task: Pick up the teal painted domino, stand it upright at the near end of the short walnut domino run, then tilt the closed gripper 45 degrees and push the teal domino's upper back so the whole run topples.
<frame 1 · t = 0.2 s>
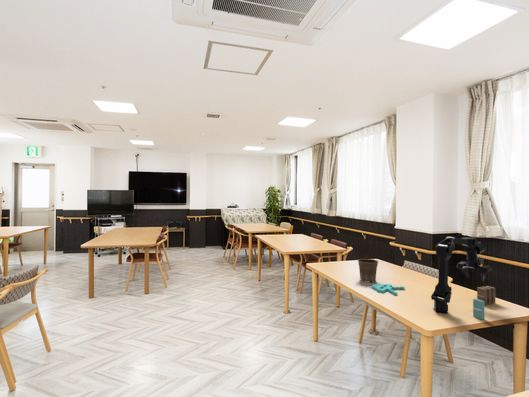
hand: (475, 279, 203), 15 cm above the table, tool pointing down, fingers open, 9 cm apart
walnut domino 1: (482, 303, 202), on the table
plant pot: (367, 280, 260), on the table
walnut domino 3: (490, 302, 205), on the table
teal domino: (478, 317, 178), on the table
alien figure: (386, 290, 233), on the table
walnut domino 2: (486, 303, 203), on the table
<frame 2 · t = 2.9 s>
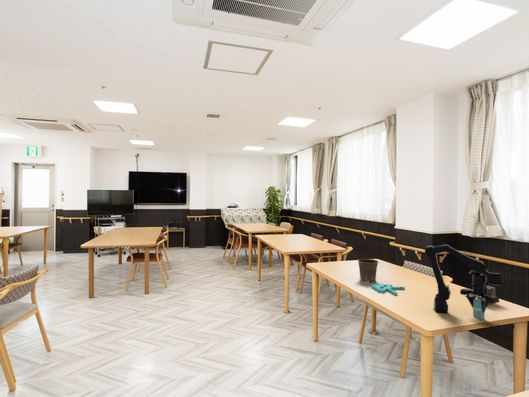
hand: (478, 310, 178), 4 cm above the table, tool pointing down, fingers closed on teal domino, 5 cm apart
teal domino: (478, 317, 178), on the table, touching gripper
everything else where it was.
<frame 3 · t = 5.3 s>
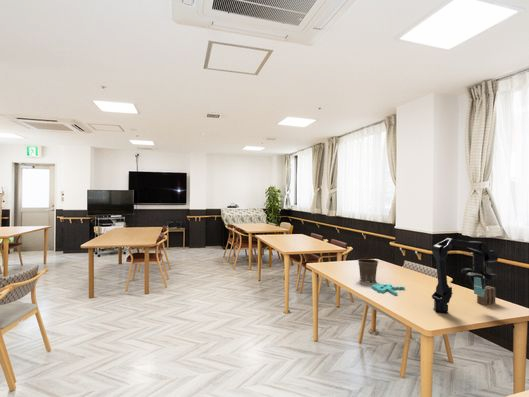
hand: (479, 288, 190), 13 cm above the table, tool pointing down, fingers closed on teal domino, 5 cm apart
teal domino: (479, 294, 190), point 9 cm above the table, touching gripper
everything else where it was.
when the fingers open (5 cm above the table, at t = 8.0 s): teal domino drops 1 cm, on the table.
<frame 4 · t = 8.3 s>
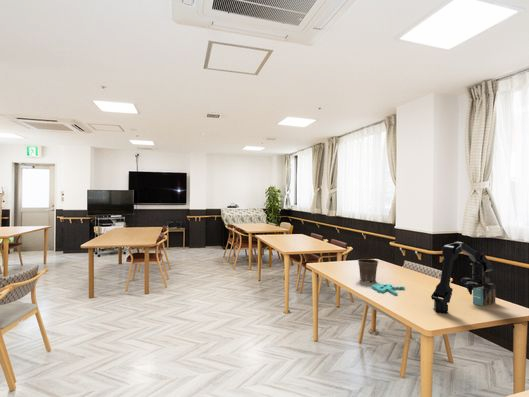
hand: (477, 296, 200), 5 cm above the table, tool pointing down, fingers open, 9 cm apart
teal domino: (477, 304, 200), on the table
everything else where it was.
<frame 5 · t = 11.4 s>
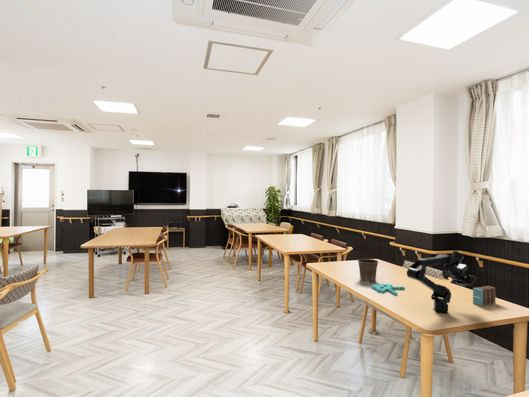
hand: (465, 286, 196), 13 cm above the table, tool tilted 45°, fingers closed
nothing on the table moved.
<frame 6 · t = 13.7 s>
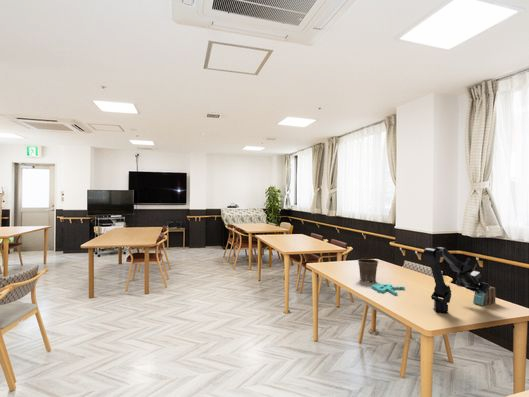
hand: (478, 292, 201), 7 cm above the table, tool tilted 45°, fingers closed, pressing on teal domino
teal domino: (477, 304, 200), on the table, tilted 15°, touching gripper
everything else where it was.
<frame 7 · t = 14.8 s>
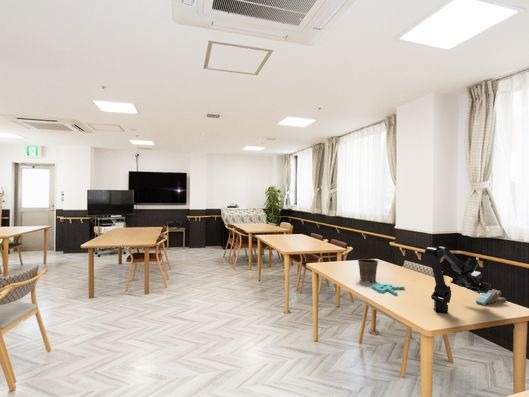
hand: (479, 293, 201), 7 cm above the table, tool tilted 45°, fingers closed
walnut domino 1: (484, 302, 202), point 1 cm above the table, tilted 57°, touching teal domino, walnut domino 2
walnut domino 3: (491, 300, 205), point 1 cm above the table, tilted 90°, touching walnut domino 2
teal domino: (479, 302, 201), point 1 cm above the table, tilted 58°, touching walnut domino 1
walnut domino 2: (488, 301, 204), point 1 cm above the table, tilted 57°, touching walnut domino 1, walnut domino 3
everything else where it was.
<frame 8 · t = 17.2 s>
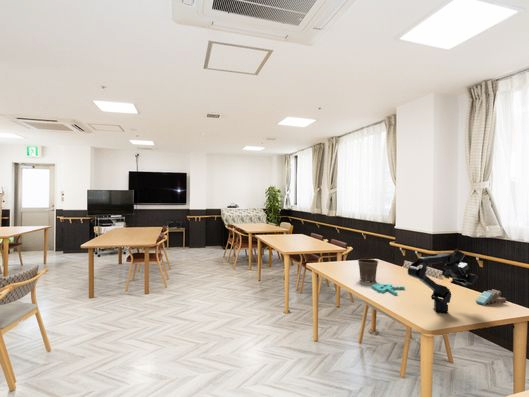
hand: (466, 284, 196), 14 cm above the table, tool tilted 45°, fingers closed
nothing on the table moved.
at the end: walnut domino 3 tilted 90°; teal domino tilted 58°; teal domino 4.0 cm from the walnut domino 1 (horizontally) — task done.
